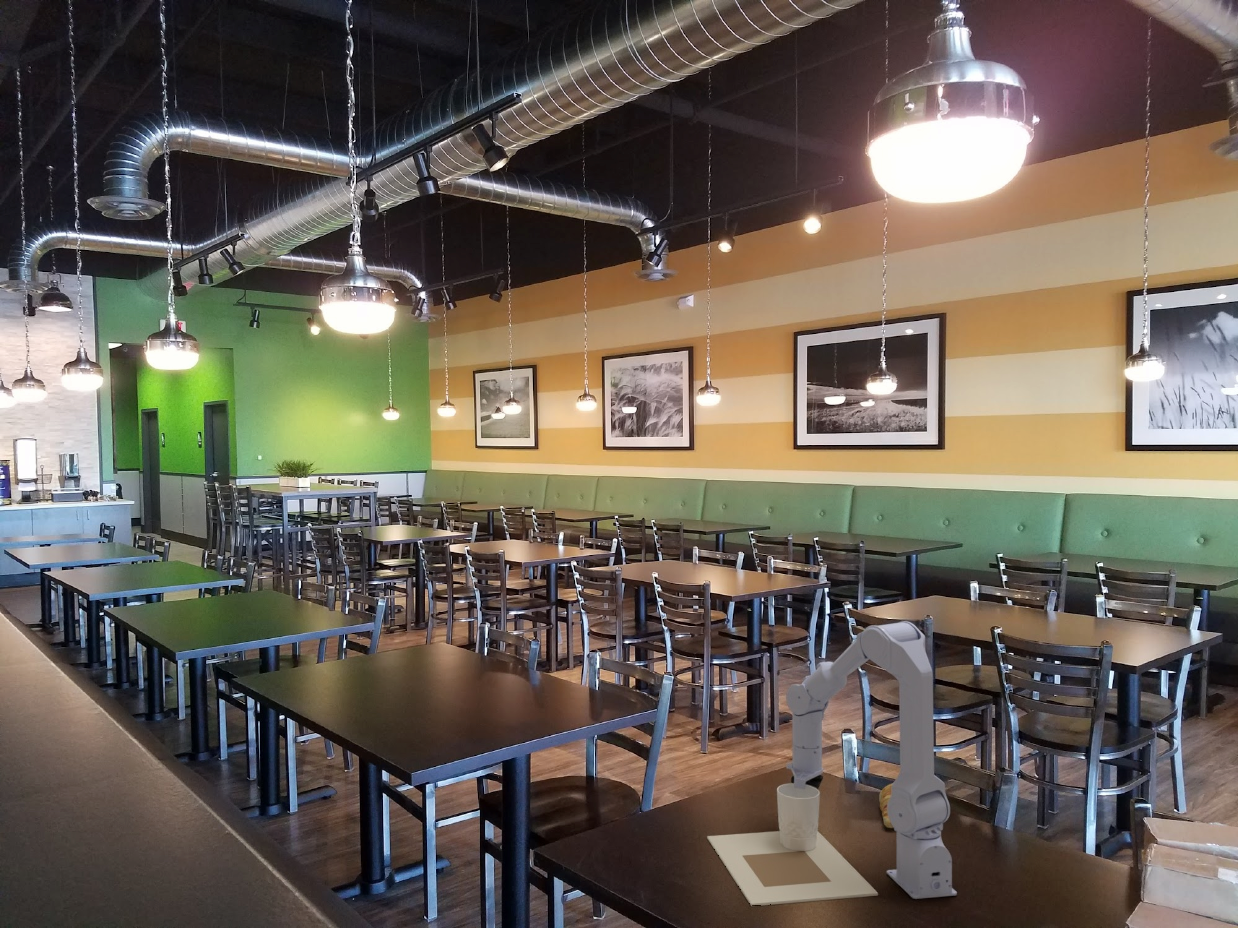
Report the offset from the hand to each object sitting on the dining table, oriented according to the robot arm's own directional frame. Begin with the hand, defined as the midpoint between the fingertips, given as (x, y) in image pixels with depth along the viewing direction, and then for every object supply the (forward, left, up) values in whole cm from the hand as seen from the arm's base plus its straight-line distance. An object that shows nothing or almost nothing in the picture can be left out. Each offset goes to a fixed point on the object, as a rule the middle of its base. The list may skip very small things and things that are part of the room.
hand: (807, 813), depth 167 cm
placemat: (-14, +10, -3) cm, 17 cm away
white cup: (-7, +5, -3) cm, 9 cm away
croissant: (+4, -22, -3) cm, 23 cm away
